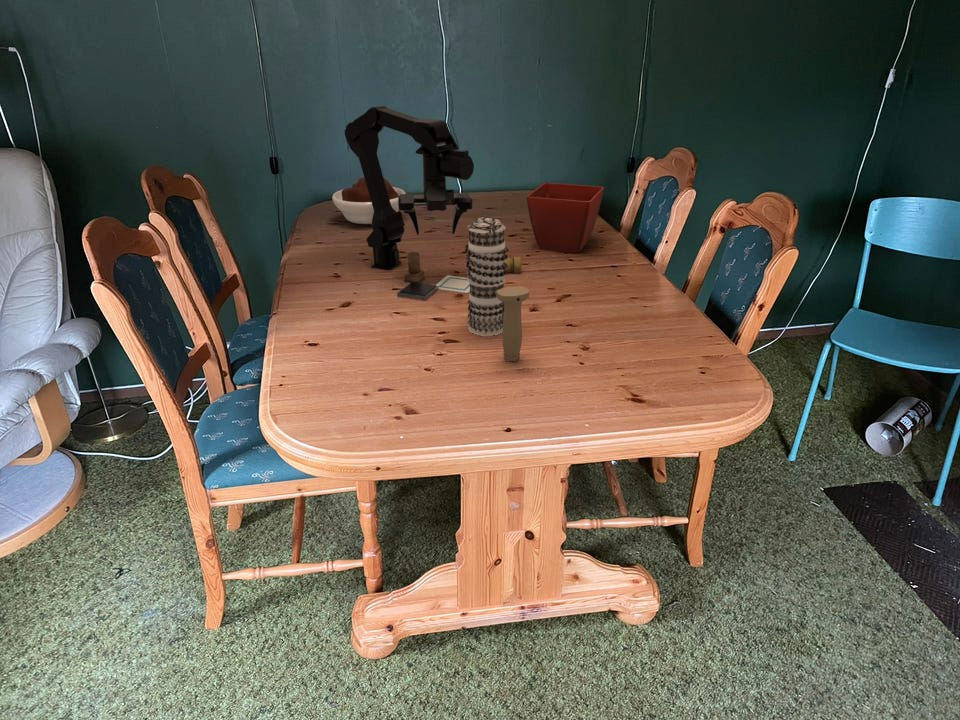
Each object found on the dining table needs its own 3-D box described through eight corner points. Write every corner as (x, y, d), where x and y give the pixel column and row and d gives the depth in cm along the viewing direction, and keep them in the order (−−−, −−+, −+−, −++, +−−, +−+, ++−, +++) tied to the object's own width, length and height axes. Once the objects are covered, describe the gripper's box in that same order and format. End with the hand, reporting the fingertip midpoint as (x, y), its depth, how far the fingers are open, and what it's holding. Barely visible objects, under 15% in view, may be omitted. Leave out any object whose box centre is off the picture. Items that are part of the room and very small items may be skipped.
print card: (432, 288, 168) (432, 287, 168) (447, 275, 176) (447, 274, 176) (467, 293, 165) (467, 292, 164) (481, 280, 173) (481, 279, 173)
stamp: (404, 281, 172) (403, 255, 169) (411, 277, 176) (410, 251, 172) (418, 283, 171) (416, 257, 168) (424, 278, 174) (423, 252, 171)
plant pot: (523, 251, 194) (525, 195, 187) (542, 233, 210) (544, 181, 202) (585, 258, 188) (590, 201, 180) (600, 240, 204) (604, 186, 196)
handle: (492, 356, 134) (493, 289, 127) (520, 351, 136) (522, 284, 129) (502, 366, 130) (503, 298, 123) (530, 361, 132) (533, 293, 125)
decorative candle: (493, 340, 140) (494, 229, 129) (458, 331, 145) (456, 222, 133) (514, 325, 147) (516, 218, 135) (480, 317, 151) (479, 212, 140)
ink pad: (397, 296, 163) (397, 291, 162) (411, 285, 170) (411, 281, 169) (426, 300, 160) (425, 295, 160) (439, 289, 167) (438, 284, 166)
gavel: (482, 241, 194) (515, 240, 194) (482, 256, 196) (515, 255, 196) (484, 259, 175) (521, 259, 175) (485, 275, 177) (521, 275, 177)
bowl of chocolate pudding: (319, 223, 222) (314, 179, 215) (370, 208, 240) (366, 167, 233) (373, 235, 209) (369, 189, 202) (421, 218, 227) (419, 175, 220)
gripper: (397, 182, 153) (400, 245, 160) (475, 181, 155) (474, 243, 162) (397, 171, 162) (399, 231, 170) (470, 170, 164) (469, 229, 172)
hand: (435, 234), depth 168 cm, fingers open, 9 cm apart
